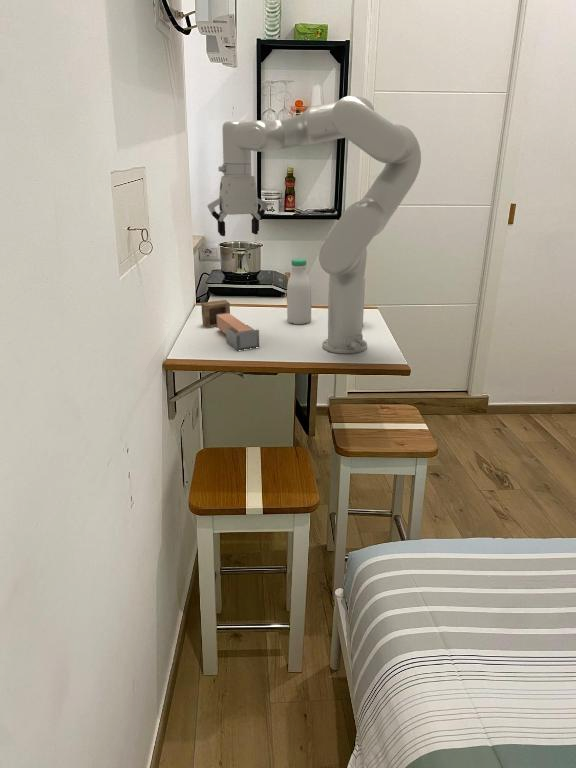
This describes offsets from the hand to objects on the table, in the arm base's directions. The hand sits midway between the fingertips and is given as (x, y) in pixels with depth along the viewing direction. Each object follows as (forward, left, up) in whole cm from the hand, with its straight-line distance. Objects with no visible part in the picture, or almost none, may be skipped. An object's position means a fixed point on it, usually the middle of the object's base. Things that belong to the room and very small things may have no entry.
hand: (238, 234), depth 172 cm
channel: (-8, +3, -30) cm, 31 cm away
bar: (-1, +3, -29) cm, 29 cm away
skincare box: (-5, -34, -30) cm, 45 cm away
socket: (+15, +3, -30) cm, 34 cm away
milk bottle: (+6, -22, -30) cm, 38 cm away
